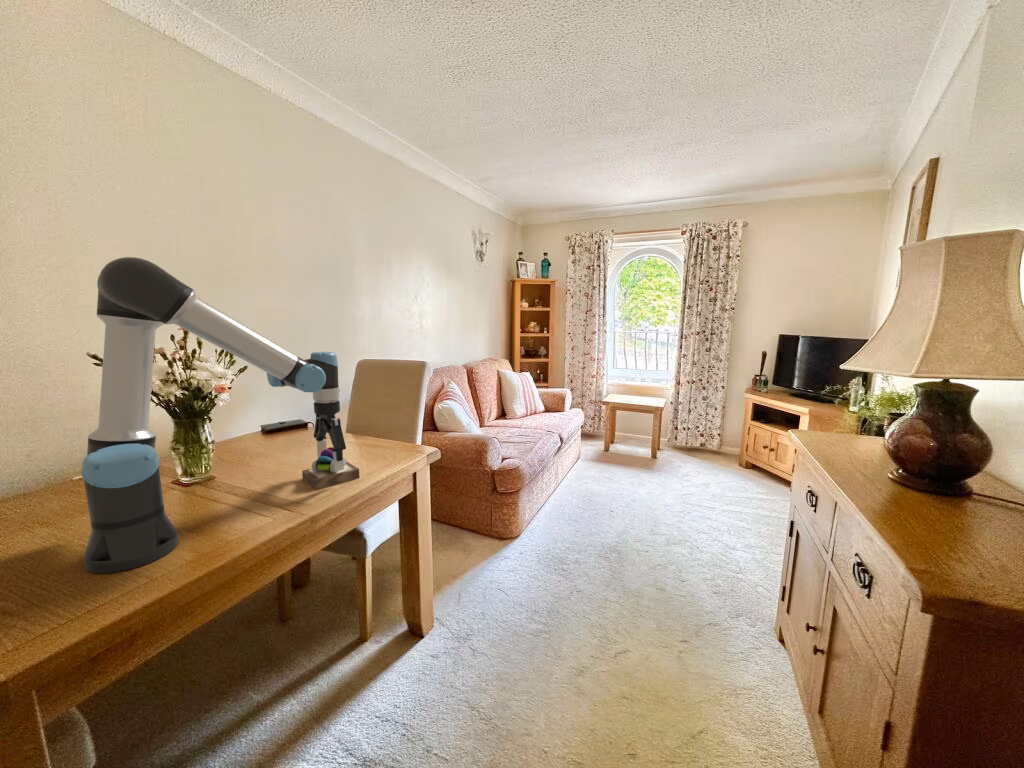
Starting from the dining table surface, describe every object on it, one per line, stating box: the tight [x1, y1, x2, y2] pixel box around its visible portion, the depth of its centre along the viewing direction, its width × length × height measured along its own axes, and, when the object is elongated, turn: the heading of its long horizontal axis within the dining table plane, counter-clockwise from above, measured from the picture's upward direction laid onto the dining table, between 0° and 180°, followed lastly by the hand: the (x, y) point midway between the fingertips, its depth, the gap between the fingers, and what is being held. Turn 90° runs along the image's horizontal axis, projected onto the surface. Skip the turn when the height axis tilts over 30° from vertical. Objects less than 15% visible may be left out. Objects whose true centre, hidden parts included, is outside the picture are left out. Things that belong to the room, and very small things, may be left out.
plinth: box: [301, 461, 360, 490], centre depth 133 cm, size 14×11×3 cm
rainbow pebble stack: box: [311, 446, 347, 473], centre depth 132 cm, size 8×10×7 cm
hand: (330, 464), depth 132 cm, fingers open, 13 cm apart
